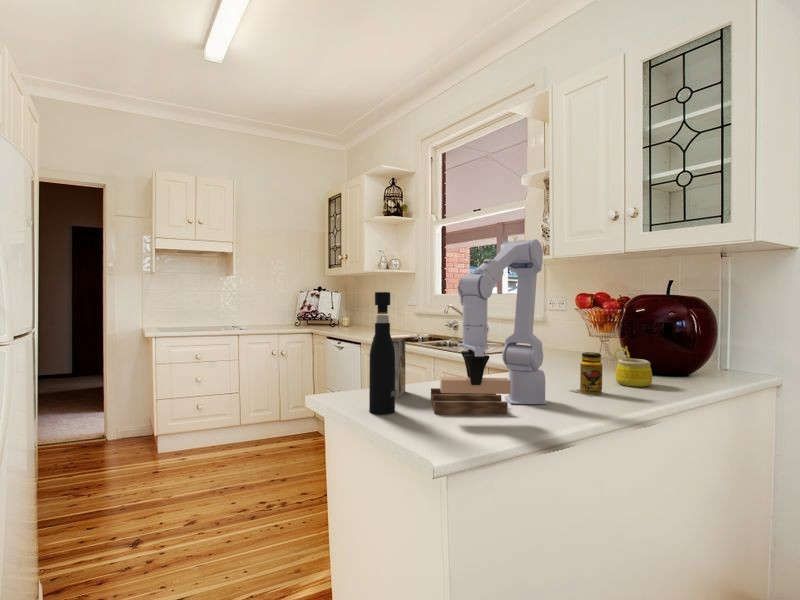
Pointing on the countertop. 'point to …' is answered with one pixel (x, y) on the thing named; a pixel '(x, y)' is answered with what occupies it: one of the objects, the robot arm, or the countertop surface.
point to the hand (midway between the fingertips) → (474, 382)
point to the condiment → (591, 375)
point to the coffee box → (399, 365)
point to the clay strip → (466, 387)
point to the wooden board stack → (467, 403)
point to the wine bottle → (382, 362)
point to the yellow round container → (633, 371)
